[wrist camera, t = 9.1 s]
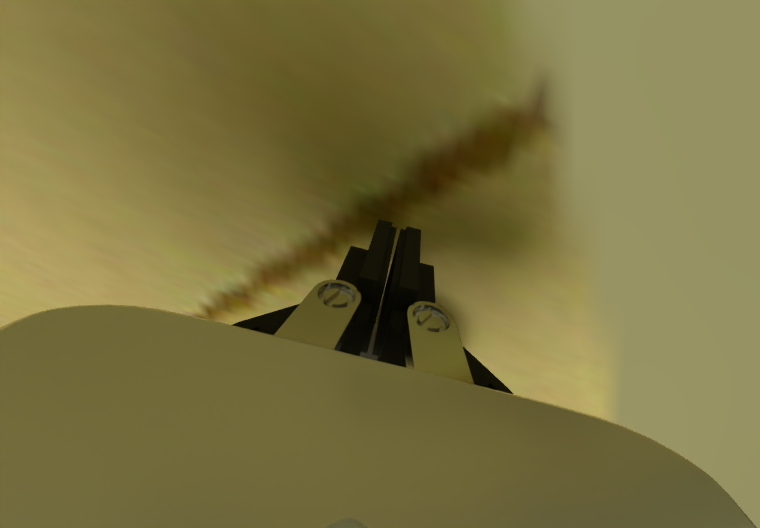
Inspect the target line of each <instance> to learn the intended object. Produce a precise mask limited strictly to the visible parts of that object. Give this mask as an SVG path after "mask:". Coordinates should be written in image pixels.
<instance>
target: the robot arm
mask: <svg viewBox="0 0 760 528" xmlns="http://www.w3.org/2000/svg"><path fill="white" fill-rule="evenodd" d="M391 226H392V223H390V222H386V221H382V220H378V223H377V226H376V229H375V232H374V235H373V238H372V241H371V244H370V246H369V249H368V250H365V249H361V248H357V247H353V246H351V248H350V250H349V252H348V254H347V256H346V258H345V261H344V263H343V265H342V267H341V269H340V272H339V274H338V276H337V278H336V280H326V281H323V282H320V283H318V284H317V285H316V286H315V287H314V288H313V289H312V290H311V291H310V293H309V294H308V295H307V296H306V297H305V299H304V300H303V301H302V302H301V303H300V304H298V305H294V306H291V307H288V308H284V309H281V310H278V311H274V312H271V313H268V314H264V315H261V316H258V317H254V318H251V319H248V320H244V321H241V322H238V323H235V324H233V325H229V324H225V323H220V322H216V321H212V320H208V319H204V318H199V317H194V316H189V315H184V314H180V313H175V312H170V311H165V310H160V309H153V308H146V307H139V306H125V305H83V306H71V307H63V308H56V309H50V310H46V311H42V312H39V313H35V314H32V315H29V316H27V317H24V318H22V319H19V320H17V321H14V322H12V323H10V324H7V325H5V326H3V327H1V328H0V528H757V527H756V526H755V525H754V524H753V522H752V521H751V520H750V519H749V518H748V516H747V515H746V514H745V513H744V512H743V511H742V509H741V508H740V507H739V506H738V505H737V503H736V502H735V501H734V500H733V499H732V497H731V496H730V495H729V494H728V493H727V492H726V491H725V490H724V489H723V488H722V487H721V486H720V485H719V484H718V483H717V482H716V481H715V480H714V479H713V478H712V477H711V476H709V475H708V474H707V473H706V472H704V471H703V470H702V469H700V468H699V467H697V466H696V465H695V464H693V463H692V462H690V461H689V460H687V459H685V458H684V457H683V456H681V455H680V454H678V453H676V452H675V451H673V450H671V449H669V448H667V447H666V446H664V445H662V444H660V443H658V442H657V441H655V440H653V439H651V438H649V437H647V436H644V435H642V434H640V433H638V432H635V431H633V430H631V429H629V428H627V427H624V426H622V425H619V424H616V423H613V422H610V421H608V420H605V419H602V418H599V417H596V416H592V415H589V414H585V413H582V412H578V411H575V410H571V409H568V408H564V407H561V406H557V405H553V404H549V403H545V402H541V401H537V400H533V399H530V398H526V397H522V396H518V395H514V394H513V393H512V392H511V391H510V390H509V389H508V388H507V387H506V386H505V385H504V384H503V383H502V382H501V381H500V380H499V379H498V378H496V377H495V376H494V375H493V374H492V373H491V372H490V371H489V370H488V369H487V368H486V367H485V366H484V365H482V364H481V363H480V362H479V361H478V360H477V359H476V358H475V357H474V356H473V355H472V354H471V353H469V352H468V351H467V350H466V349H465V348H464V347H463V346H462V343H461V340H460V337H459V334H458V330H457V327H456V324H455V321H454V319H453V317H452V315H451V314H450V313H449V312H448V311H447V310H446V309H444V308H443V307H441V306H439V305H437V304H435V286H434V266H431V265H427V264H423V263H420V240H421V230H419V229H415V228H411V227H407V228H406V230H404V229H401V230H400V234H399V238H398V241H397V245H396V249H395V253H394V256H393V260H392V264H391V268H390V272H389V275H388V279H387V283H386V278H387V273H388V268H389V263H390V258H391V253H392V248H393V244H394V239H395V234H396V229H397V228H395V227H391ZM385 283H386V287H385ZM384 287H385V291H384ZM383 291H384V296H383V301H382V306H381V311H380V316H379V321H378V326H377V331H376V336H375V341H374V346H373V351H372V355H375V356H378V357H377V360H373V359H369V358H365V357H361V356H360V353H361V352H363V353H367V351H368V348H369V344H370V340H371V336H372V333H373V329H374V325H375V321H376V317H377V314H378V310H379V306H380V302H381V298H382V295H383Z"/></svg>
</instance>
